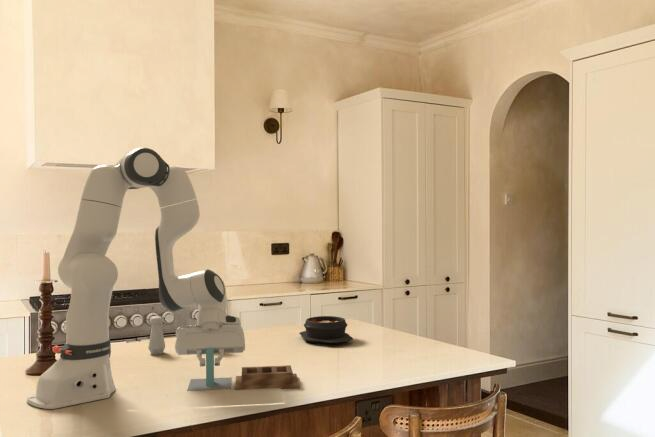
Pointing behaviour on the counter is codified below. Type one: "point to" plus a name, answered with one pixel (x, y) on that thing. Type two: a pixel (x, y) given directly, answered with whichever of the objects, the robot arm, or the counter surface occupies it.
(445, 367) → the counter surface
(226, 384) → the mat
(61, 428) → the counter surface
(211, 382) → the teal rectangular block
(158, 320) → the salt shaker
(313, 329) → the casserole
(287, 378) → the rack
